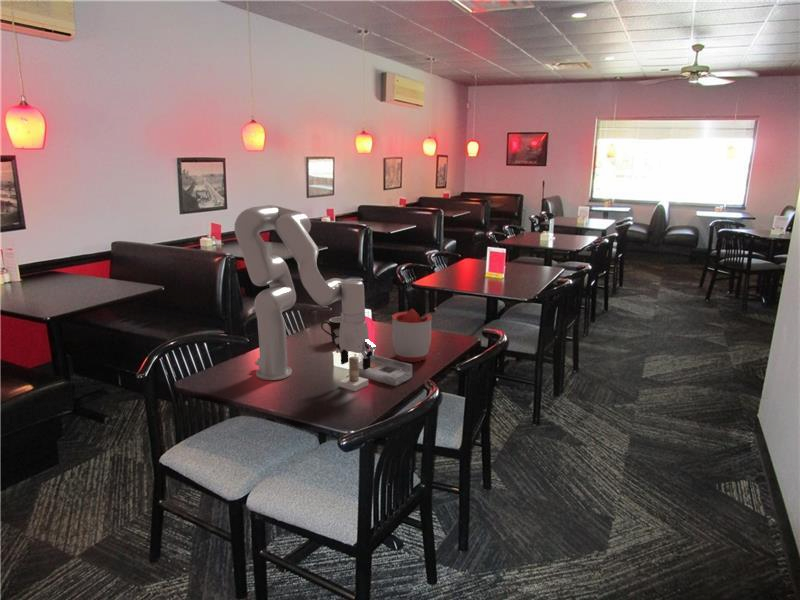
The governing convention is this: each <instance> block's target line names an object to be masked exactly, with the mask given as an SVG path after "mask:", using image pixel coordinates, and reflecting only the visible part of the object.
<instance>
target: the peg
mask: <svg viewBox="0 0 800 600" xmlns="http://www.w3.org/2000/svg"><path fill="white" fill-rule="evenodd" d="M359 362H360V361H359V357H358V356H351V357H348V370H349V371H348V372H349V373H348V377H349V381H351V382H357V381H359V377H360V376H359Z"/></svg>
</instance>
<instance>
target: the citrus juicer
mask: <svg viewBox="0 0 800 600" xmlns="http://www.w3.org/2000/svg"><path fill="white" fill-rule="evenodd" d="M391 318H392V330H391V331H392V333H391V334H392V335H391V338H392V345H393V350H394V354H395V356H396V359H397V360H398V361H401V362H406V361H407V362H406V363H413V362H414V363H417V361H418V362H422V361H424V360H426V359H427V356H428V354H429V350H430V346H431V340H432V319H433V316H432V315H431V314H429V313H427V314H426V315H424V317H423V318H422V317H420V315H419V313H418V312H417V311H416V310H415V309H414V308H410V309H409V310H408V311H399V312H395V313H394V314H392V315H391ZM421 360H422V361H421Z"/></svg>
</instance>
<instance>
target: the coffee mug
mask: <svg viewBox="0 0 800 600" xmlns="http://www.w3.org/2000/svg"><path fill="white" fill-rule="evenodd" d="M342 320H343V316H335V317H331V318H329V320H328V321H329V322H328V321H323V322H322V323H321V324H320V328H321V330H323V332H325V333H326V334H327V335H329V336H330V337H331V341H332V342H333V343H335V340H334V339H335V338H338V337H339V330H340V323H341V321H342ZM324 324H327V325H328V326H329V329H330V332H328V331H327V330H325V328H324V327H323V325H324ZM332 342H331V343H332ZM333 343H332V344H333Z"/></svg>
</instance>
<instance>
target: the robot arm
mask: <svg viewBox="0 0 800 600" xmlns="http://www.w3.org/2000/svg"><path fill="white" fill-rule="evenodd" d="M234 222H235V223H234V235H235V237H236V240H237V242H238V245H239V248H240V250H241V253H242V257H243V260H244V264H245V267H246V270H247V273H248V276H249V279H250V281H251V283H252V284H253V285H254V286H257V287H264V286H269V288H266V289H264V290H261V291H260V292H259V293H258V294H257V295H256V296H255V299H254V302H253V307H254V311H255V316H256V320H257V329H258V330H257V331H258V346H259V358H258V359H257V361H255V362H254V365H255V366H258V370H256V372H255V374H256V378H258V379H260V380H264V381H280V380H282V379H287V378H288V377H290V376H292V374H293V369H292V368H291V367H290V366H288V352H287V351H288V349H287V329H286V321H285V318H284V317H283V312H285V311H287V310H289V309H291V308H292V307H293V306H294V305H295V303H296V301H297V293H296V290H295V285H294V282H293V279H292V275H291V273H290V269H289V266H288V264H287V263H286V261H285V260H284V259H283V258H282V257H281V256H278V255H275V254H274V255H270V254H269V251H268V247H267V244H266V243H265V241H264V239H263V238H262V236H261V235H260V233H261V232H267V231H272V230H274V231H275V232H276V233H277V235H278V236H279V238H280V239H281V241H282V243H284V245H285V247H286V248H287V249H288V251H289V252H290V254H291V256H292V257H293V258H294V260H295V261H296V263H297V269H298V274H299V278H300V281H301V283H302V285H303V288H304V289H305V290H306V292H307V293H308V294H309V296H310V298H312V300H313V301H314V302H315V303H317V304H318V305H320V306H329V305H331V304H333V303H335V302H338V301H340V300H341V311H342V312H341V313H340V317H343V320H342V321H341V323H340V330H339V337H338V338H335V339H334V340H335V343H336V344H335V345H336V348H337V349H338V352H339V353H340V364H341V365H345V364H347V363H349V352H352V353H358V354H361V355H362V356H363V358H362V361H363V369H364V370H366V369H368V368H370V357H371V356H372V355H375V351H376V349H377V346H376V345H375V344H374V343H373V342H372V341H370V335H369V334H370V333H369V327H368V322H367V321H366V308H365V306H366V305H365V304H366V303H365V285H364V282H363V281H361V280H359V279H358V280H356V279H354V280H353V279H352V280H348V279H344V278H340V277H339V278H338V277H333V278H330V279H327V280H325V279H324V277H323V276H322V274H321V272H320V270H319V268H318V265H317V259H318V255H319V251H320V250H319V249H320V248H319V247H318V246H317V244H316V243H315V241H314V240H313V238H312V237H311V236H310V231H311V229H312V228H311V227H312V223H311V220H310V218H309V217H308V215H306V213H303V212H300V211H298V210H293V209H289V208H286V207H282V206H278V205H274V204H273V205H272V204H271V205H270V204H269V205H261V206H253V207H250V208H247V209H244V210H243V211H241V212H240V213H239V214H238V215H237V217H236V220H235V221H234Z"/></svg>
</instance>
